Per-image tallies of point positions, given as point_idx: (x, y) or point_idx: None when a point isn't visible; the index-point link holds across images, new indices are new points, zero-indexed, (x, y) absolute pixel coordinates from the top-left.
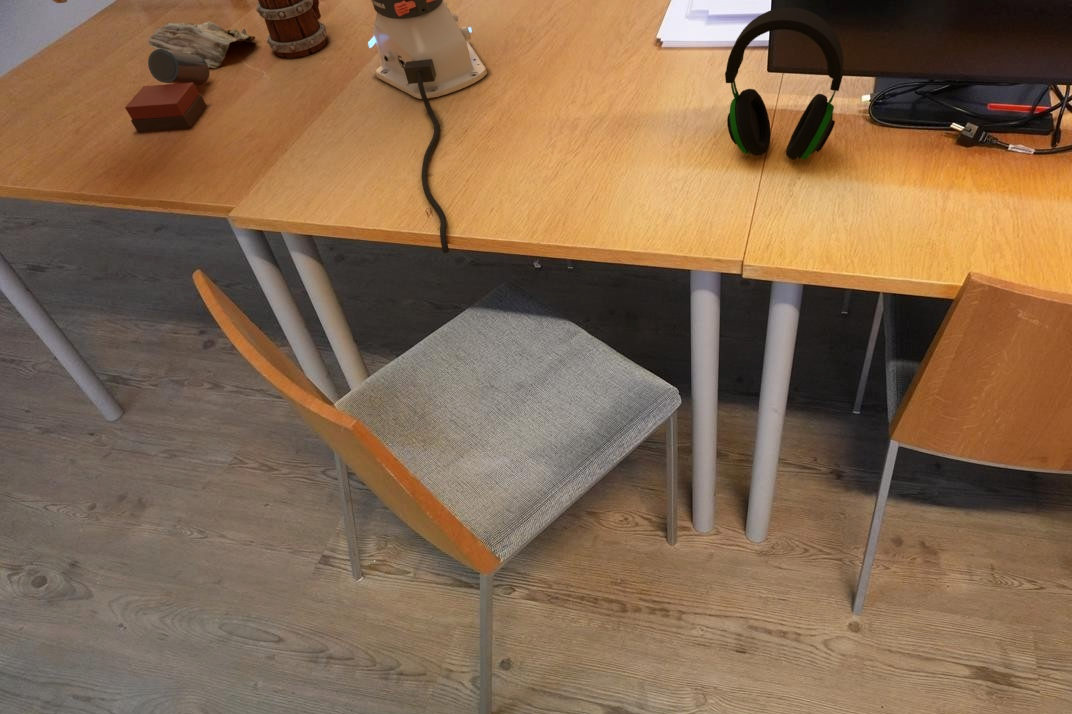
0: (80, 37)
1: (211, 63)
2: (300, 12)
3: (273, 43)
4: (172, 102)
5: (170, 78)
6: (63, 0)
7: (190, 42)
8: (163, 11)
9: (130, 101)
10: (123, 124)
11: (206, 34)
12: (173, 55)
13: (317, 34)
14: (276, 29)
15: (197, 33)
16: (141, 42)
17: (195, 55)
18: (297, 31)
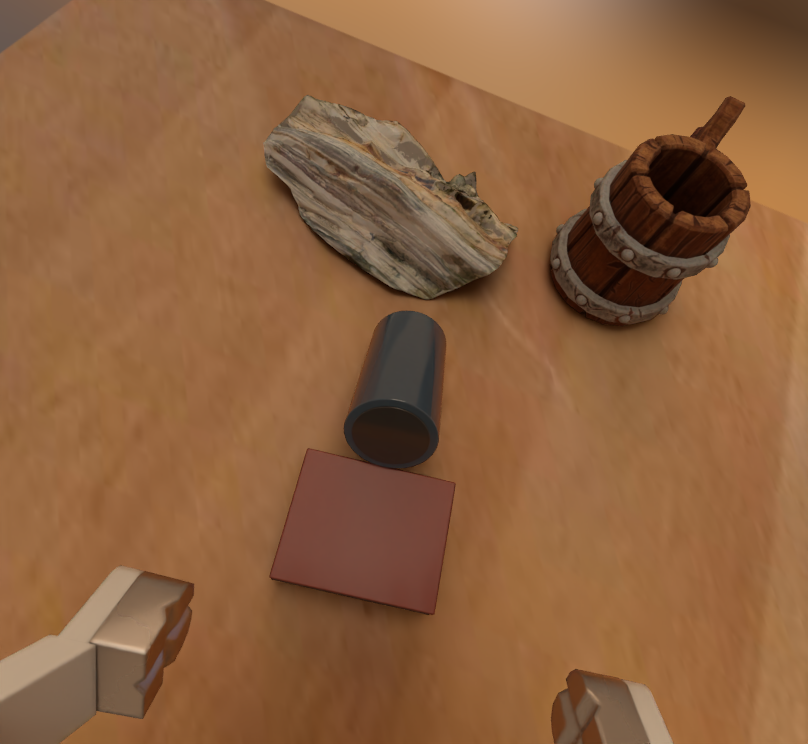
0: (79, 29)
1: (420, 286)
2: (705, 267)
3: (583, 292)
4: (420, 602)
5: (397, 462)
6: (171, 661)
7: (379, 212)
8: (260, 5)
9: (282, 541)
10: (227, 509)
11: (435, 223)
12: (436, 426)
13: (677, 291)
14: (615, 275)
15: (412, 211)
16: (227, 108)
17: (434, 332)
18: (659, 293)
